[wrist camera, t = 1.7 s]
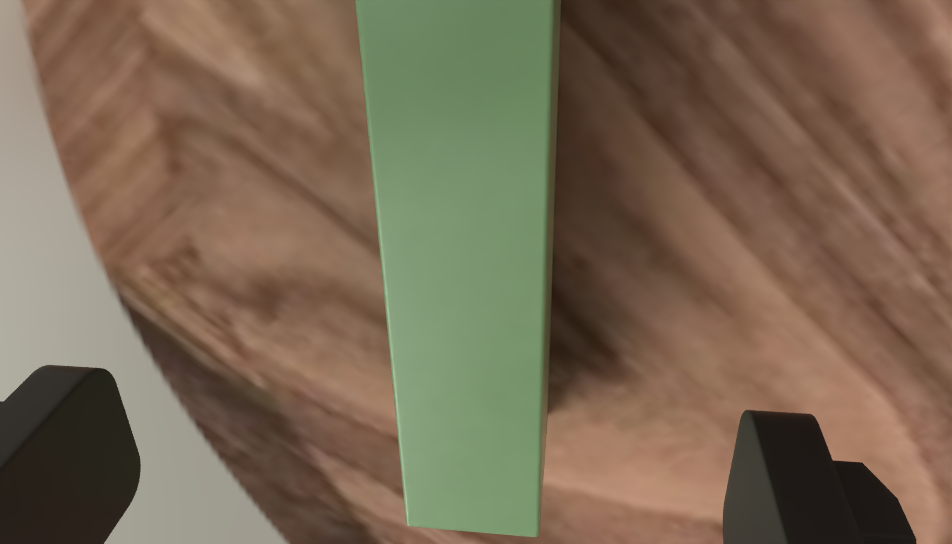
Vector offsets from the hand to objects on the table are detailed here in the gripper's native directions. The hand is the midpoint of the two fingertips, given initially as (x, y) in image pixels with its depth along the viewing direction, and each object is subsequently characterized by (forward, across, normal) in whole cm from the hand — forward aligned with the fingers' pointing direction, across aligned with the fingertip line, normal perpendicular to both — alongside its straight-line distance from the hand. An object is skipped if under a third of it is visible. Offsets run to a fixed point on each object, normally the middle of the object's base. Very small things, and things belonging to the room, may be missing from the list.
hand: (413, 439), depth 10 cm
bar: (+8, 0, 0) cm, 9 cm away
